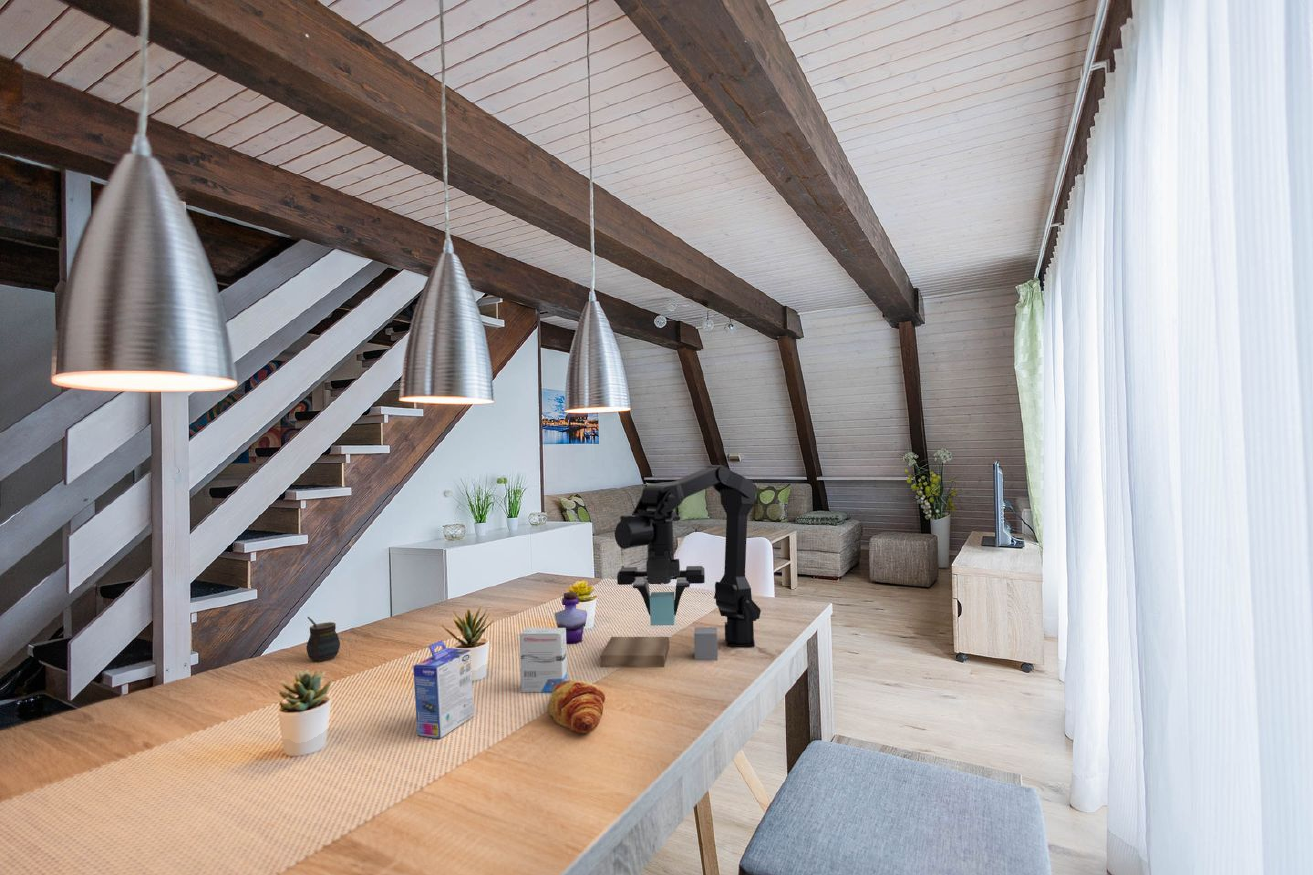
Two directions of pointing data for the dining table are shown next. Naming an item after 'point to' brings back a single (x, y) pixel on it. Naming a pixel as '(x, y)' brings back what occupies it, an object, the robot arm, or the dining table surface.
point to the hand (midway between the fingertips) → (662, 614)
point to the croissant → (576, 705)
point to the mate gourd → (323, 641)
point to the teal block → (662, 608)
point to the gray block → (705, 643)
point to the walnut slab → (635, 652)
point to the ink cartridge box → (443, 691)
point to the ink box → (542, 659)
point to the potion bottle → (571, 618)
